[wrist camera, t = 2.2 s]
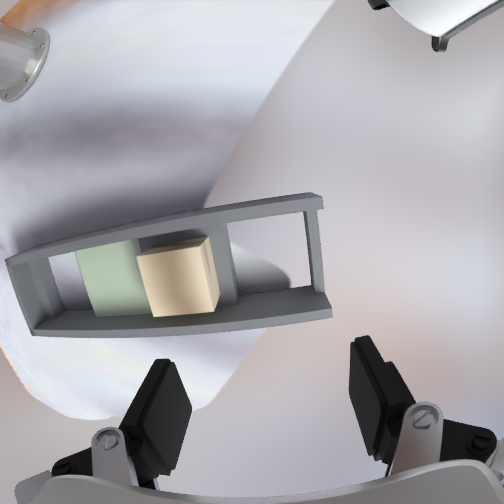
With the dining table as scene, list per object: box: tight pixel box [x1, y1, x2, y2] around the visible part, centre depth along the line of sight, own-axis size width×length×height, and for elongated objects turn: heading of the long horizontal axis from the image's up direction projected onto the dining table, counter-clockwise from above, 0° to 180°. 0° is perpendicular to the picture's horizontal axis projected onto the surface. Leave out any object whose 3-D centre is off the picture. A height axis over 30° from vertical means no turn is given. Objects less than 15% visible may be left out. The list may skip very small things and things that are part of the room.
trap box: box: [5, 192, 332, 338], centre depth 28 cm, size 38×11×6 cm, turn 99°
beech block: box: [136, 236, 220, 317], centre depth 26 cm, size 6×6×4 cm
